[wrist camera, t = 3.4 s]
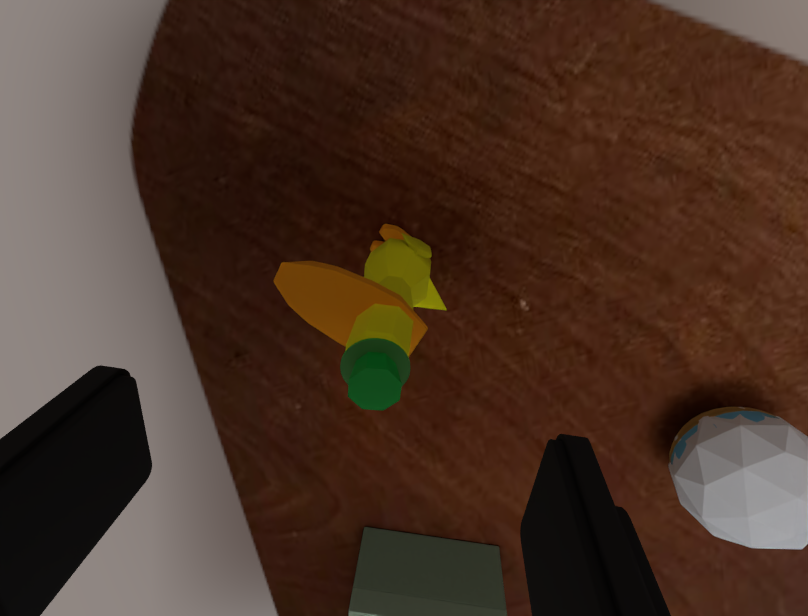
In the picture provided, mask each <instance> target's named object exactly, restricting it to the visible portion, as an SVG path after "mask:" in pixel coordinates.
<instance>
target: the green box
mask: <svg viewBox="0 0 808 616" xmlns="http://www.w3.org/2000/svg"><path fill="white" fill-rule="evenodd" d="M348 616H507V612H506V603H505V595H504V586H503V577H502V569H501V560H500V551H499V546H493V545H486V544H479V543H472V542H465V541H459V540H452V539H445V538H438V537H431V536H424V535H418V534H411V533H404V532H397V531H390V530H383V529H377V528H370V527H364V531H363V536H362V541H361V547H360V552H359V558H358V563H357V568H356V574H355V579H354V585H353V590H352V595H351V601H350V606H349V612H348Z"/></svg>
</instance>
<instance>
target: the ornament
mask: <svg viewBox="0 0 808 616" xmlns="http://www.w3.org/2000/svg"><path fill="white" fill-rule="evenodd" d="M668 467H669V470H670V473H671V476H672V479H673V482H674V486H675V489H676V492H677V495H678V498H679V501H680V504H681V505H682V506H683V507H684V508H685V509H687V510H688V511H689V512H690V513H691V514H692V515H693V516H694V517H695V518H696V519H697V520H698V521H699V522H700V523H701V524H702V525H703V526H704V527H705V528H706V529H707V530H708V531H709V532H710V533H711V534H712V535H713V536H716V537H719V538H722V539H725V540H728V541H731V542H734V543H737V544H741V545H744V546H747V547H750V548H768V549H803V548H804V547H805V546H806V545H807V544H808V437H807V436H806V435H805V434H803V433H802V432H800V431H799V430H797V429H796V428H795V427H793V426H792V425H790V424H789V423H788V422H786V421H785V420H783V419H782V418H780V417H778V416H775V415H773V414H770V413H768V412H765V411H761V410H758V409H754V408H747V407H724V408H717V409H713V410H710V411H707V412H704V413H701V414H700V415H698V416H696V417H694V418H692V419H691V420H690V421H688V422H687V423H686V424H685V425H684V426H683V427H682V428H681V429H680V431H679V432H678V434H677V435H676V436H675V438H674V441H673V443H672V446H671V449H670V452H669V466H668Z"/></svg>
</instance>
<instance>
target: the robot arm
mask: <svg viewBox="0 0 808 616" xmlns="http://www.w3.org/2000/svg"><path fill="white" fill-rule="evenodd" d="M151 469H152V461H151V456H150V450H149V445H148V441H147V435H146V431H145V425H144V420H143V415H142V409H141V405H140V399H139V394H138V389H137V384H136V380H135V379H134V378H133V377H131V376H130V373H129V372H128V371H127V370H125V369H121V368H114V367H107V366H96V367H95V368H93V369H91V370H90V371H88V372H87V373H86V374H85V375H83V376H82V377H81V378H79V379H78V380H77V381H75V383H73V384H72V385H70V386H69V387H68V388H66V389H65V390H64V391H62V392H61V393H60V394H59V395H57V396H56V397H55V398H53V399H52V400H51V401H49V402H48V403H47V404H45V405H44V406H43V407H42V408H40V409H39V410H38V411H36V412H35V413H34V414H32V415H31V416H30V417H29V418H27V419H26V420H25V421H23V422H22V423H21V424H19V425H18V426H17V427H16V428H14V429H13V430H12V431H10V432H9V433H8V434H6V435H5V436H4V437H2V438H1V439H0V616H40V615H41V614H42V612H43V611H44V610H45V609H46V607H47V606H48V605H49V603H50V602H51V601H52V600H53V599H54V597H55V596H56V595H57V593H58V592H59V591H60V589H61V588H62V587H63V586H64V585H65V583H66V582H67V581H68V579H69V578H70V577H71V576H72V574H73V573H74V572H75V571H76V569H77V568H78V567H79V566H80V564H81V563H82V562H83V560H84V559H85V558H86V556H87V555H88V554H89V553H90V552H91V550H92V549H93V548H94V546H95V545H96V544H97V542H98V541H99V540H100V539H101V538H102V536H103V535H104V534H105V532H106V531H107V530H108V529H109V527H110V526H111V525H112V524H113V522H114V521H115V520H116V519H117V517H118V516H119V515H120V513H121V512H122V511H123V510H124V508H125V507H126V506H127V505H128V503H129V502H130V501H131V500H132V498H133V497H134V496H135V494H136V493H137V492H138V491H139V489H140V488H141V487H142V485H143V484H144V483H145V482H146V480H147V479H148V477H149V475H150V473H151ZM520 534H521V544H522V551H523V558H524V564H525V571H526V577H527V584H528V591H529V597H530V604H531V610H532V616H671V615H670V613H669V610H668V608H667V605H666V603H665V601H664V598H663V596H662V593H661V591H660V589H659V586H658V584H657V581H656V579H655V577H654V574H653V572H652V569H651V567H650V565H649V562H648V560H647V557H646V555H645V552H644V550H643V548H642V545H641V543H640V540H639V538H638V536H637V533H636V531H635V528H634V526H633V524H632V521H631V519H630V517H629V515H628V513H627V512H626V511H625V510H624V509H623V508H622V507H617V506H615V505H614V502H613V500H612V497H611V495H610V492H609V489H608V487H607V484H606V482H605V479H604V477H603V474H602V472H601V469H600V466H599V464H598V461H597V459H596V456H595V454H594V451H593V449H592V446H591V443H590V441H589V440H588V439H587V438H585V437H578V436H572V435H565V434H559V435H558V436H557V439H556V440H552V439H550V440H549V441H548V443H547V446H546V449H545V452H544V455H543V458H542V461H541V464H540V467H539V470H538V473H537V476H536V479H535V482H534V486H533V489H532V492H531V495H530V498H529V501H528V504H527V507H526V510H525V513H524V516H523V519H522V523H521V532H520Z"/></svg>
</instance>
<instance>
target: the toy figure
mask: <svg viewBox="0 0 808 616" xmlns="http://www.w3.org/2000/svg"><path fill="white" fill-rule="evenodd" d="M379 233H380V234H381V236H382V237H383V239H384V240H385V242H384V241H376V240H375V241H373V242H372V244H371V247H370V251H371V253H370V255H369V257H368V259H367V261H366V264H365V272H364V277H362V276H360V275H357V274H355V273H352V272H350V271H347V270H345V269H343V268H340V267H338V266H334V265H329V264H325V263H320V262H316V261H296V262H282V263H281V265H280V268H279V270H278V272H277V274H276V277H275V279H274V281H273V282H274V283H275V285H276V287H277V288H278V290H279V291H280V293H281V294H282V296H283V297H284V299H285V300H286V302H287V304H288V305H289V306H290V307H291V308H292V309H293V310H294V311H295V312H297V313H298V314H299V315H300V316H301V317H302V318H303V319H304V320H305V321H306V322H307V323H309V324H311V325H312V326H314V327H315V328H317V329H318V330H320V331H321V332H323V333H324V334H326V335H327V336H329V337H331V338H332V339H334V340H335V341H337V342H338V343H340V344H342V345H344V346H346V351H345V353H344V354H343V357H342V359H341V365H340V369H341V374H342V376H343V379H344V380H345V382H346V383H347V384H348V385H349V388H348V397H349V398H350V399H352V400H353V401H354V402H355V403H356V404H357V405H358V406H359V407H361V408H362V409H370V410H385V409H386V408H388V407H389V406H391V405H393V404H394V403H396V402H397V401H399V400H400V393H401V387H402V386H403V384H404V383H405V382H406V381H407V379H408V377H409V374H410V361H409V358H408V357H409V356H410V354H411V353H412V352H413V350H414V349H415V347H416V346H417V344H418V343H419V341H420V340H421V338H422V337H423V335H424V334H425V332H426V331H427V329H428V327H427V325H426V324H425V323H424V322H423V321H422V320H421V319H420V317H419V316H418V315H417V314H416V313H415V312H414V310H413V307H422V308H430V309H438V310H447V309H446V307H445V305H444V304H443V302H442V300H441V298H440V296H439V294H438V292H437V290H436V289H435V287H434V285H433V283H432V281H431V279H430V268H431V260H430V259H429V258H431V256H432V253H431V249H430V246H428V245H427V244H425V243H424V242H422V241H421V240H419V239H416V238H414V237H411V236H410V235H409V234H407V233H406V232H405V231H404V230H403V229H401V228H400V227H398V226H395V225H390V224H383V226H382V228H381V229H380V231H379Z"/></svg>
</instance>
